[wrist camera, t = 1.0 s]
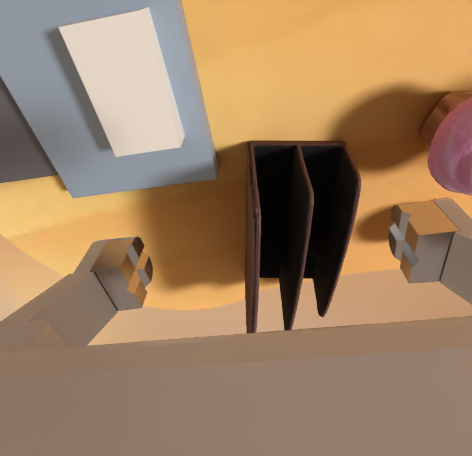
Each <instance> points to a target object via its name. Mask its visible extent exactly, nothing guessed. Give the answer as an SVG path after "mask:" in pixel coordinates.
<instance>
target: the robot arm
mask: <svg viewBox="0 0 472 456" xmlns="http://www.w3.org/2000/svg"><path fill="white" fill-rule="evenodd" d="M391 218H392V219H393V221H394V222H395V223H394V224H393V225H392V226H391V227H390V228H389V246H390V249H391V252H392V254H393V255H394V257H395V258H397V259H398V260H400V261H401V265H400V268H401V270H402V272H403V274H404V275H405V277H406V279H407V281H408V283H423V282H438V281H440V283H441V284H443V285H444V286H445V287H447V288H449V289H450V290H451V291H453V292H454V293H456V294H457V295H459V296H460V297H462V298H463V299H465V300H466V301H467V302H469V303H471V304H472V219H471V218H470V217H469V216H468V215H467V214H466V213H465V212H464V211H463V210H462V209H461V208H460V207H459V206H458V205H457V204H456V203H455V202H454V200H453V199H451V198H448V197H447V198H440V199H434V200H429V201H422V202H415V203H407V204H400V205H394V206H393V209H392V213H391ZM143 248H144V244H143V242H142V240H141V238H139V237H127V238H117V239H110V240H100V241H95V242H93V243H92V245H91V246H90V248H89V250H88V251H87V253H86V254H85V256H84V258H83V259H82V261H81V262H80V264H79V265H78V267H77V269H76V270H75V272H74V273H73V274H69V275H67V276H66V277H64V278H63V279H62V280H60V281H58V282H57V283H56V284H54V285H53V286H52V287H50V288H49V289H47V290H46V291H44V292H43V293H41V294H40V295H38V296H37V297H35V298H34V299H33V300H31V301H30V302H28V303H27V304H25V305H24V306H23V307H21V308H20V309H18V310H17V311H15V312H14V313H13V314H11V315H10V316H8V317H7V318H5V319H4V320H2V321H1V322H0V456H472V316H467V317H466V316H465V317H453V318H442V319H428V320H415V321H404V322H390V323H376V324H363V325H350V326H337V327H323V328H310V329H298V330H284V331H271V332H259V333H246V334H233V335H222V336H208V337H195V338H182V339H170V340H156V341H143V342H131V343H117V344H105V345H92V346H87V345H88V344H89V343H90V341H91V340H92V339H93V338H94V337H95V336H96V335H97V334H98V333H99V332H100V331H101V329H102V328H103V327H104V326H105V325H106V324H107V323H108V322H109V321H110V320H111V319H112V318H113V317H114V315H115V314H116V313H117V311H121V310H129V309H137V308H142V305H143V303H144V300H145V297H146V294H147V291H146V289H145V287H146V286H147V285H148V284H149V283H150V282H151V279H152V274H153V267H152V262H151V259H150V257H149V255H147V254H146V253H144V252H143Z"/></svg>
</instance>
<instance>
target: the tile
mask: <svg viewBox="0 0 472 456" xmlns="http://www.w3.org/2000/svg"><path fill="white" fill-rule="evenodd" d="M58 28H59V30H60V32H61V34H62V37H63V39H64V41H65V43H66V46H67V48H68V50H69V52H70V55H71V57H72V59H73V61H74V64H75V66H76V68H77V70H78V73H79V75H80V77H81V79H82V82H83V84H84V86H85V88H86V91H87V93H88V95H89V97H90V100H91V102H92V104H93V106H94V109H95V111H96V113H97V116H98V118H99V120H100V122H101V125H102V127H103V129H104V131H105V134H106V136H107V138H108V140H109V143H110V145H111V147H112V149H113V152H114V154H115V156H116V157H119V156H125V155H132V154H139V153H146V152H152V151H159V150H166V149H173V148H179V147H181V145H182V142H183V140H184V137H185V134H184V130H183V127H182V123H181V120H180V116H179V112H178V109H177V105H176V102H175V98H174V95H173V91H172V88H171V84H170V80H169V77H168V73H167V70H166V66H165V63H164V59H163V56H162V52H161V49H160V45H159V41H158V38H157V34H156V31H155V27H154V24H153V20H152V17H151V13H150V9H149V7H145V8H140V9H135V10H131V11H126V12H121V13H116V14H111V15H107V16H102V17H97V18H92V19H88V20H83V21H78V22H73V23H70V24H67V25H64V26H61V27H58Z"/></svg>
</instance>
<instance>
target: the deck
mask: <svg viewBox="0 0 472 456" xmlns="http://www.w3.org/2000/svg"><path fill="white" fill-rule="evenodd" d="M145 7H149V9H150V13H151V17H152V20H153V24H154V27H155V31H156V34H157V38H158V41H159V45H160V49H161V52H162V56H163V59H164V63H165V66H166V70H167V73H168V77H169V80H170V84H171V88H172V91H173V95H174V98H175V102H176V105H177V109H178V112H179V116H180V120H181V123H182V127H183V130H184V134H185V137H184V140H183V142H182V145H181V147H179V148H173V149H166V150H159V151H152V152H146V153H139V154H132V155H125V156H119V157H116V156H115V154H114V152H113V149H112V147H111V145H110V143H109V140H108V138H107V136H106V134H105V131H104V129H103V127H102V125H101V122H100V120H99V118H98V116H97V113H96V111H95V109H94V106H93V104H92V102H91V100H90V97H89V95H88V93H87V91H86V88H85V86H84V84H83V82H82V79H81V77H80V75H79V73H78V70H77V68H76V66H75V64H74V61H73V59H72V57H71V55H70V52H69V50H68V48H67V46H66V43H65V41H64V39H63V37H62V34H61V32H60V30H59V28H58V27H61V26H64V25H67V24H70V23H73V22H78V21H83V20H88V19H92V18H97V17H102V16H107V15H111V14H116V13H121V12H126V11H131V10H135V9H140V8H145ZM0 76H1V78H2V79H3V81H4V83H5V85H6V86H7V88H8V90H9V91H10V93H11V95H12V96H13V98H14V100H15V101H16V103H17V105H18V107H19V108H20V110H21V112H22V113H23V115H24V117H25V118H26V120H27V122H28V123H29V125H30V127H31V129H32V130H33V132H34V134H35V135H36V137H37V139H38V140H39V142H40V144H41V145H42V147H43V149H44V151H45V152H46V154H47V156H48V157H49V159H50V161H51V162H52V164H53V166H54V167H55V169H56V171H57V173H58V174H59V176H60V178H61V179H62V181H63V183H64V184H65V186H66V188H67V189H68V191H69V193H70V195H71V196H72V198H78V197H85V196H93V195H100V194H108V193H115V192H123V191H130V190H138V189H145V188H153V187H160V186H168V185H176V184H183V183H191V182H198V181H206V180H213V179H217V175H218V168H219V166H218V162H217V157H216V153H215V149H214V144H213V140H212V135H211V131H210V126H209V122H208V118H207V113H206V109H205V104H204V100H203V96H202V91H201V87H200V82H199V78H198V73H197V69H196V65H195V60H194V56H193V51H192V47H191V42H190V38H189V34H188V29H187V25H186V20H185V16H184V12H183V7H182V3H181V0H0Z"/></svg>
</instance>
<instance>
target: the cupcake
mask: <svg viewBox="0 0 472 456" xmlns="http://www.w3.org/2000/svg"><path fill="white" fill-rule="evenodd" d="M420 136H421V138H422V139H423V142H424V144H425V146H426V148H427V150H428V151H429V154H428V167H429V170H430V173H431V175H432V177H433V178H434V179H435V180H436V181H437V183H438V184H440V185H441V186H442V187H443V188H444V189H446V190H448V191H452V192H457V193H463V194H467V195H472V92H471V91H455V92H452V93H449V94H447V95H446V96H444V97H443V98H442V99H441V100H440V101H439V102H438V104H437V106H436V107H435V108H434V110H433V111H432V113H431V114H430V116H429V117H428V119H427V120H426V121H425V123H424V125H423V127H422V129H421V131H420Z"/></svg>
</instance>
